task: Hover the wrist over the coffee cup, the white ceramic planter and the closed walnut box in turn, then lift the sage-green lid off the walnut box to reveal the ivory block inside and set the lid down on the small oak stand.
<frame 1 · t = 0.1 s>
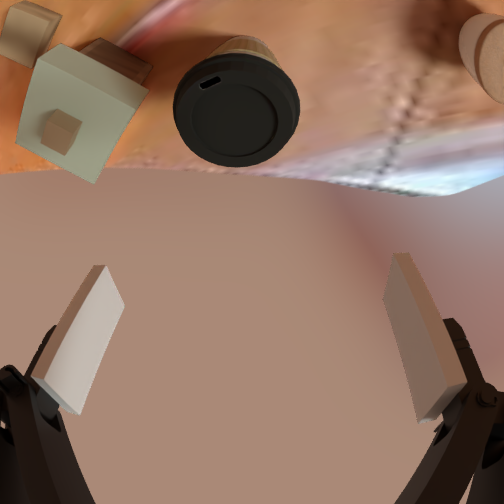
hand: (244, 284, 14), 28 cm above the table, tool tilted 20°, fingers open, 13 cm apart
lid: (83, 106, 26), point 8 cm above the table, touching walnut box
lidded jar: (477, 40, 22), on the table
walnut box: (111, 76, 30), on the table
oak stand: (33, 29, 22), on the table
coffee cup: (244, 59, 30), on the table
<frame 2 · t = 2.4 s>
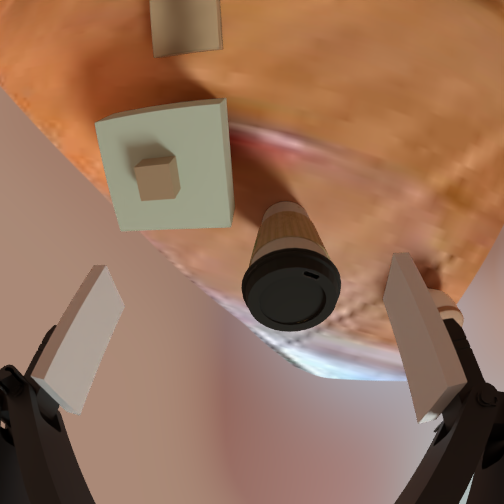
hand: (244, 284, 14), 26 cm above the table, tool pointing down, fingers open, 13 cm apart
lid: (174, 159, 28), point 8 cm above the table, touching walnut box
lidded jar: (421, 300, 49), on the table
oak stand: (190, 25, 27), on the table
coffee cup: (285, 221, 41), on the table
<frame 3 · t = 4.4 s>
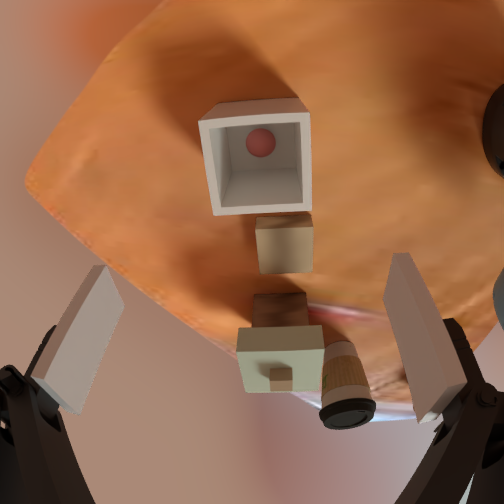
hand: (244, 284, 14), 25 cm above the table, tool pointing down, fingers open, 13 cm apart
lid: (281, 351, 43), point 8 cm above the table, touching walnut box
planter: (261, 137, 34), on the table
walnut box: (280, 311, 50), on the table
oak stand: (284, 238, 41), on the table
ball: (261, 139, 33), point 1 cm above the table, touching planter
coffee cup: (339, 350, 56), on the table
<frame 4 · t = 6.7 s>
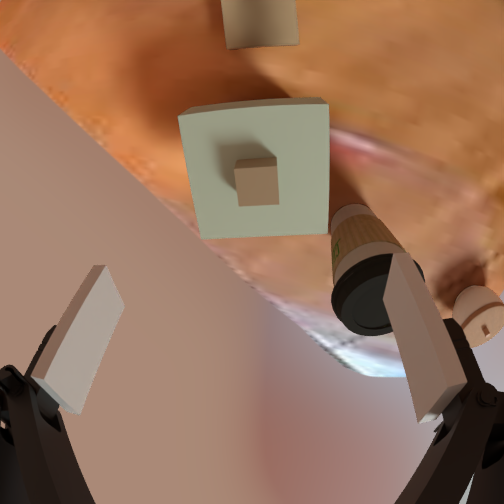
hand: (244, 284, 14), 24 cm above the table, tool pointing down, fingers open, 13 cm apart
lid: (260, 160, 27), point 8 cm above the table, touching walnut box
lidded jar: (467, 296, 46), on the table
oak stand: (260, 17, 25), on the table
coffee cup: (353, 223, 39), on the table
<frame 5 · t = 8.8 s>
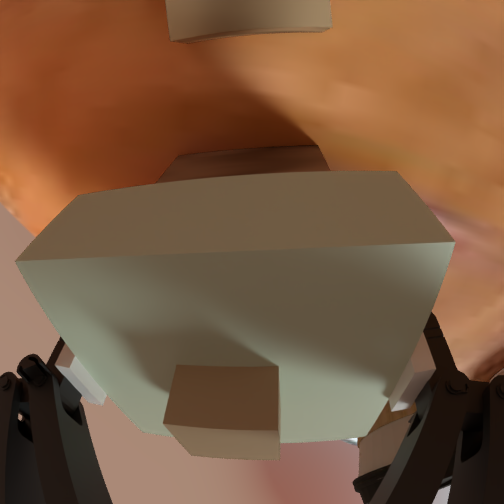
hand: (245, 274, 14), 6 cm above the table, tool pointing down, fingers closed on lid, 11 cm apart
lid: (242, 304, 13), point 8 cm above the table, touching gripper, walnut box
walnut box: (253, 210, 19), on the table
coffee cup: (388, 326, 25), on the table
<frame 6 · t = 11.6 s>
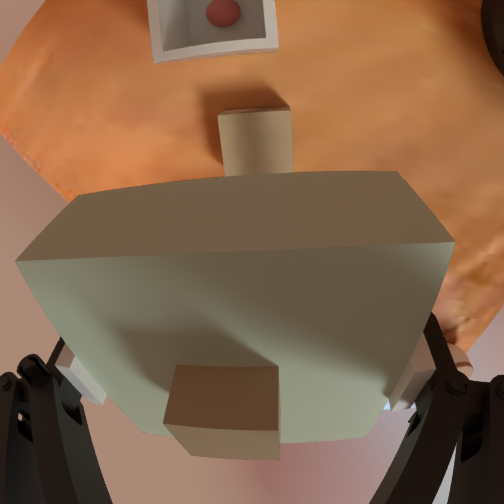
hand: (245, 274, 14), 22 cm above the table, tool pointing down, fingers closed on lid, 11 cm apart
lid: (242, 304, 13), point 24 cm above the table, touching gripper
lidded jar: (439, 351, 53), on the table
planter: (226, 15, 24), on the table
oak stand: (257, 138, 32), on the table
ball: (225, 14, 23), point 1 cm above the table, touching planter
when the fingers open (2 cm above the table, at t = 14.5 s): lid stays where it is, resting on oak stand.
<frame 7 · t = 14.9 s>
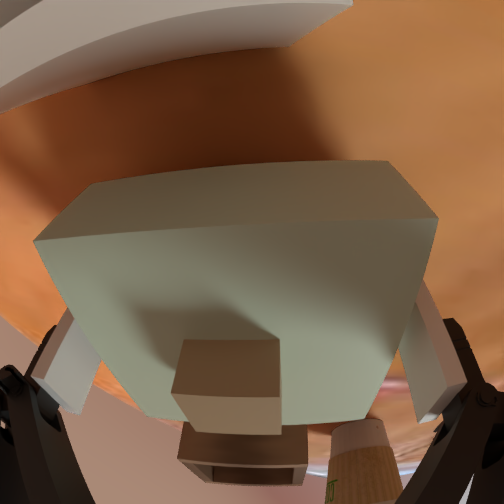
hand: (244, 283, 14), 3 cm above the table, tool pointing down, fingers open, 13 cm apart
lid: (245, 288, 13), point 3 cm above the table, touching oak stand
walnut box: (253, 387, 24), on the table
coffee cup: (357, 427, 30), on the table
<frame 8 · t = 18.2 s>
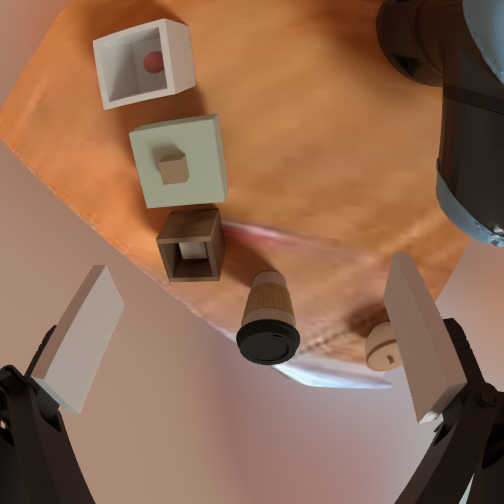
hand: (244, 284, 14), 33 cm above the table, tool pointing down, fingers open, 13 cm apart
lid: (184, 156, 40), point 3 cm above the table, touching oak stand
lidded jar: (383, 330, 64), on the table
planter: (161, 61, 35), on the table
walnut box: (198, 231, 51), on the table
ball: (159, 61, 34), point 1 cm above the table, touching planter
ivory block: (197, 234, 50), point 1 cm above the table, touching walnut box
coffee cup: (269, 283, 57), on the table
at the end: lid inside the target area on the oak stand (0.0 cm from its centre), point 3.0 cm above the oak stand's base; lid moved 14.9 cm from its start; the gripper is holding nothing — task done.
